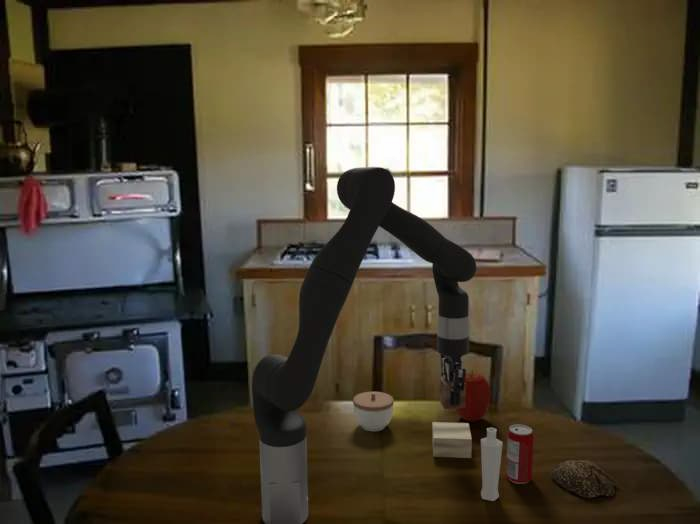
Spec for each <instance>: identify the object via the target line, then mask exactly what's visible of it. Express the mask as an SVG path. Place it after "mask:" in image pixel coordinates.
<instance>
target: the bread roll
mask: <svg viewBox="0 0 700 524" xmlns="http://www.w3.org/2000/svg"><path fill="white" fill-rule="evenodd" d="M550 477H551V480H553V481H554V482H555V483H556V485H557V486H560V487H561V488H563V489H564V490H566V491H568V492H571V493H573V494H575V495H577V496H580V497H582V498H586V499H595V498H597V497H600V496H605V497H608V498H609V497H613V496H614V495H615V494H616V490H615V488H614V487H616V486H617V485H616V483H617V481H616V480H614V478H613V477H612V476H611V475H609V474H608V473H607V472H606V471H604V470H603V469H601V468H600V467H599V466H597V464H595V463H594V462H592V461H591V460H580V459H579V460H573V459H572V460H566V461H564V462H560V464H558V465H557V466H555V467H554V468H553V470H552V471H551V473H550Z"/></svg>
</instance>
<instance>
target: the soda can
mask: <svg viewBox="0 0 700 524" xmlns="http://www.w3.org/2000/svg"><path fill="white" fill-rule="evenodd" d="M533 457H534V434H533V429H532V428H531V427H529V426H528V425H524V424H520V423H519V424H512V425H510V426H509V428H508V432H507V442H506V468H505V469H506V470H505V471H506V472H505V476H506V478H507V479H508V480H509V481H510V482H512V483H513V484H520V485H525V484H528V483H529V482H530V481H531V480H532V479H533V462H534V461H533Z"/></svg>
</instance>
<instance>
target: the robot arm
mask: <svg viewBox="0 0 700 524" xmlns="http://www.w3.org/2000/svg"><path fill="white" fill-rule="evenodd" d="M395 183H396V182H395V179H394V176H393V174H392V173H391V171H390V170H388V169H387V168H385V167H381V166H367V167H366V166H365V167H354V168H350V169H347V170H346V171H344V172H342V174H340V176H339V178H338V180H337V184H336V193H337V197H338V199H339V201H340V203H341V204H342V205H343V206H344V207H345V208H347V209H348V210H349V212H348V214H347V216H346V218H345V221H344V222H343V224H342V225H341V226H340V228H339V230H338V231H337V232H336V233H335V234H334V235H333V236H332V237H331V238H330V239H329V240H328V241H327V242H326V243H325V245H323V246H322V248H320V250H319V251H318V252H317V254H316V255H315V257H313V260H312V261H311V264H310V265H309V268H308V270H307V272H306V274H305V276H304V278H303V282H302V283H301V287H300V290H299V297H298V319H299V320H298V330H297V336H296V338H295V341H294V343H293V346H292V349H291V350H290V353H289V354H288V357H287V356H284V355H283V354H278V353H277V354H275V353H273V354H269V355H268V354H267V355H266V356H264V357H262V358H261V359H260V360H259V361H258V362H257V364H256V366H255V367H254V370H253V373H252V378H251V393H252V394H251V396H252V397H251V398H252V408H253V416H254V423H255V426H256V429H257V430H258V433H259V434H258V439H259V461H260V462H259V463H260V464H259V466H260V467H259V468H260V469H259V470H260V489H261V490H260V491H261V494H260V495H261V512H262V513H261V516H262V517H261V518H262V522H264V524H304V523H305V522H306V521H307V519H308V517H309V495H308V494H309V493H308V488H309V487H308V460H307V459H308V453H307V452H308V451H307V448H308V447H307V442H308V441H307V424H306V420H305V419H304V418H303V416H302V415H301V414H300V412H299V411H298V410H299V409H300V408H302V407H303V406H304V404H306V402H307V401H308V400H309V398H310V396H311V395H312V392H313V390H314V387H315V384H316V381H317V379H318V376H319V373H320V372H319V371H320V369H321V366H322V364H323V363H322V362H323V359H324V356H325V352H326V349H327V348H328V344H329V341H330V339H331V336H332V334H333V331H334V328H335V326H336V324H337V321H338V318H339V317H340V314H341V311H342V309H343V307H344V305H345V303H346V301H347V298H348V295H349V294H350V291H351V289H352V286H353V284H354V281H355V279H356V277H357V276H356V275H357V274H358V271H359V270H360V266H361V265H362V262H363V260H364V258H365V256H366V254H367V252H368V248H369V246H370V244H371V242H372V240H373V238H374V236H375V234H376V232H377V231H378V228H379V227H380V229H381V228H382V229H383V230H384V231H386V232H387V233H389V234H390V235H392V236H393V237H395V238H396V239H397V240H398V241H400V242H401V243H403V244H404V245H405V246H406V247H407V248H408V249H410V250H411V251H412V252H413V253H414V254H415V255H416V256H418V257H420V258H421V259H422V260H424V261H425V262H427V263H430V264H432V268H431V269H432V276H433V280H434V281H433V282H434V285H435V288H436V292H437V296H438V314H437V315H438V317H437V325H436V327H437V329H436V330H437V331H436V332H437V333H436V336H437V337H436V350H437V353H438V354H439V356H440V368H441V369H440V370H441V373H440V375H441V377H448V381H450V390H451V405H452V406H459V405H460V391H464V386H465V376H466V374H467V370H466V368H464V363H463V360H462V357H464V356H465V355H468V354H469V352H470V349H469V348H470V321H469V320H470V319H469V306H470V303H469V300H470V298H469V297H470V296H469V294H468V293H467V291H465V290H464V289H462V288H461V287H460V285H459V283H466V282H468V281H471V280H472V278H474V276H475V275H476V272H477V262H476V259H475V258H474V256H473V255H472V254H471V252H469V251H468V250H466V249H465V248H463V247H462V246H460V245H459V244H457V243H455V242H453V241H451V240H449V239H448V238H447V237H445V236H444V235H443V234H442V233H441V232H440V231H439V230H437V229H436V228H435V227H434V226H433V225H432V224H431V223H429V222H428V221H426V220H424V219H423V218H422V217H419V216H418V215H416V214H414V213H413V212H410V211H409V210H407V209H405V208H402V207H400V206H399V205H397V204H396V203H394V202H393V200H394V197H395V191H396V184H395ZM452 377H454V378H452ZM457 384H458V386H456V385H457Z"/></svg>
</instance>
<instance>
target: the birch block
mask: <svg viewBox="0 0 700 524" xmlns="http://www.w3.org/2000/svg"><path fill="white" fill-rule="evenodd" d="M431 425H432V428H431V430H432V431H431V432H432V437H431V439H432V441H431V442H432V444H431V445H432V457H434V458H436V457H437V458H460V459H461V458H463V459H472V448H473V447H472V443H473V442H472V441H473V439H472V434H471V433H472V432H471V430H470V429H471V428H470V423H469V422H447V421H446V422H442V421H432V424H431Z"/></svg>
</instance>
